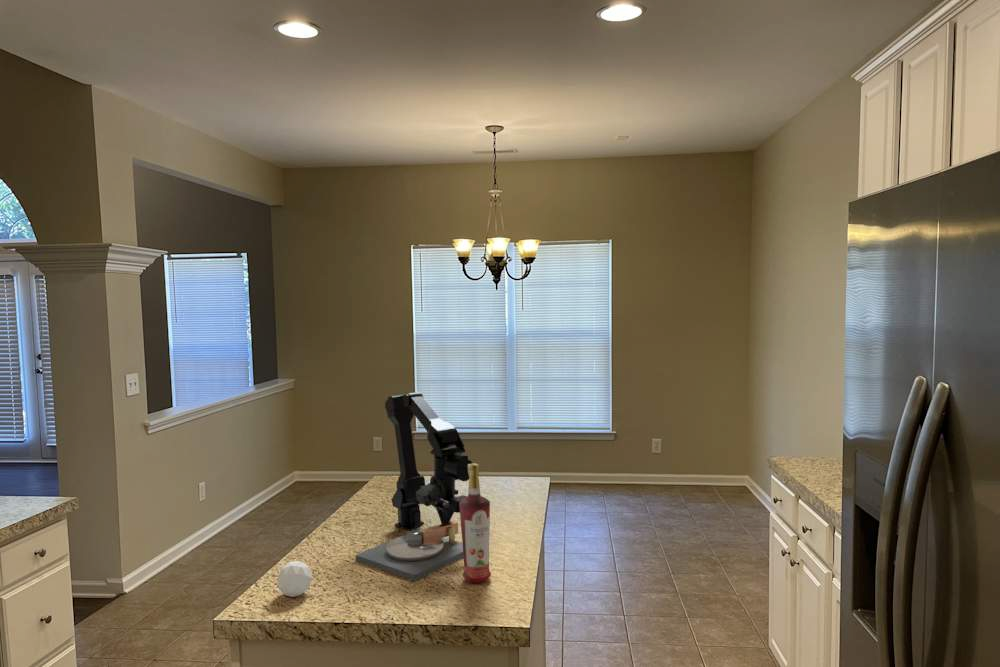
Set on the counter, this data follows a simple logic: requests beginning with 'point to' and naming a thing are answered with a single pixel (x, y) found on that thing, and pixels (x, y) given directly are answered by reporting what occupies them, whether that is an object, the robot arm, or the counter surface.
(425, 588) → the counter surface
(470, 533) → the liquor
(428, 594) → the counter surface
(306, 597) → the counter surface
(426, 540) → the grey disc with handle
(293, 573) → the ball
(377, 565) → the post plate
